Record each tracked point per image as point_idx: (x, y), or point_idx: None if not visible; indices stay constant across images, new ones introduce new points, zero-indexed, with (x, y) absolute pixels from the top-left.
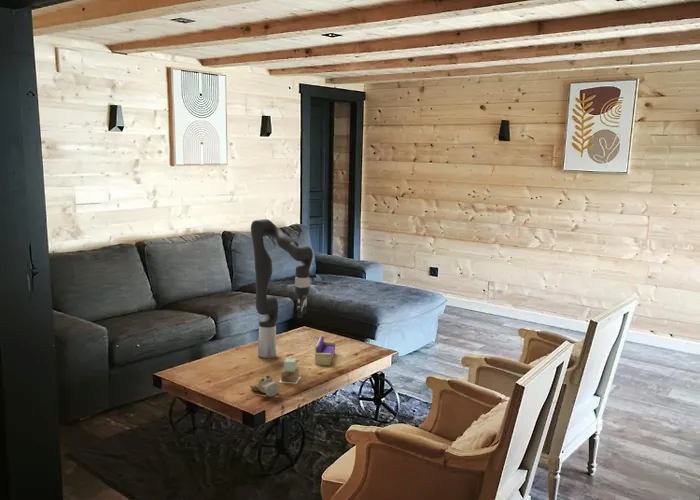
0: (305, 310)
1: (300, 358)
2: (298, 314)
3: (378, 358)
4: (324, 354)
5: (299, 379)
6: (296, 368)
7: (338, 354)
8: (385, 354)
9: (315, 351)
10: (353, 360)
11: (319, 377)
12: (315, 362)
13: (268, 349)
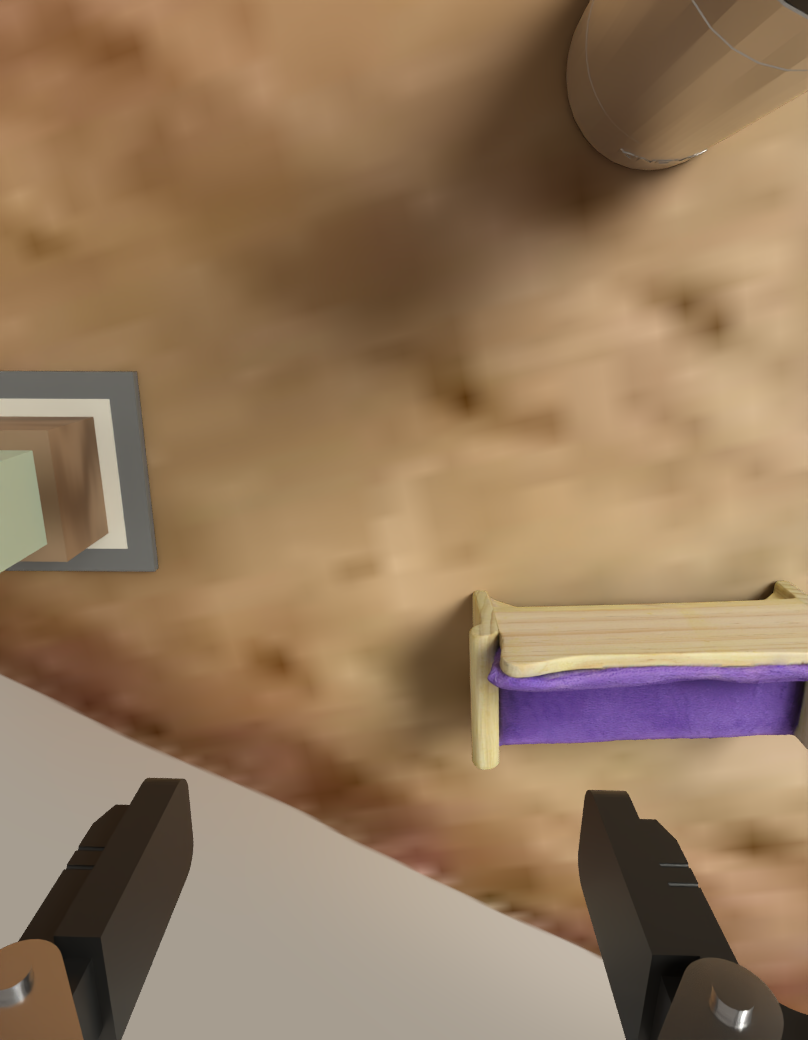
0: (600, 947)
1: (604, 440)
2: (70, 877)
3: None
4: (471, 715)
5: None
6: (45, 546)
7: None
8: None
9: (502, 639)
10: None
11: (192, 672)
12: (474, 600)
13: (596, 73)
